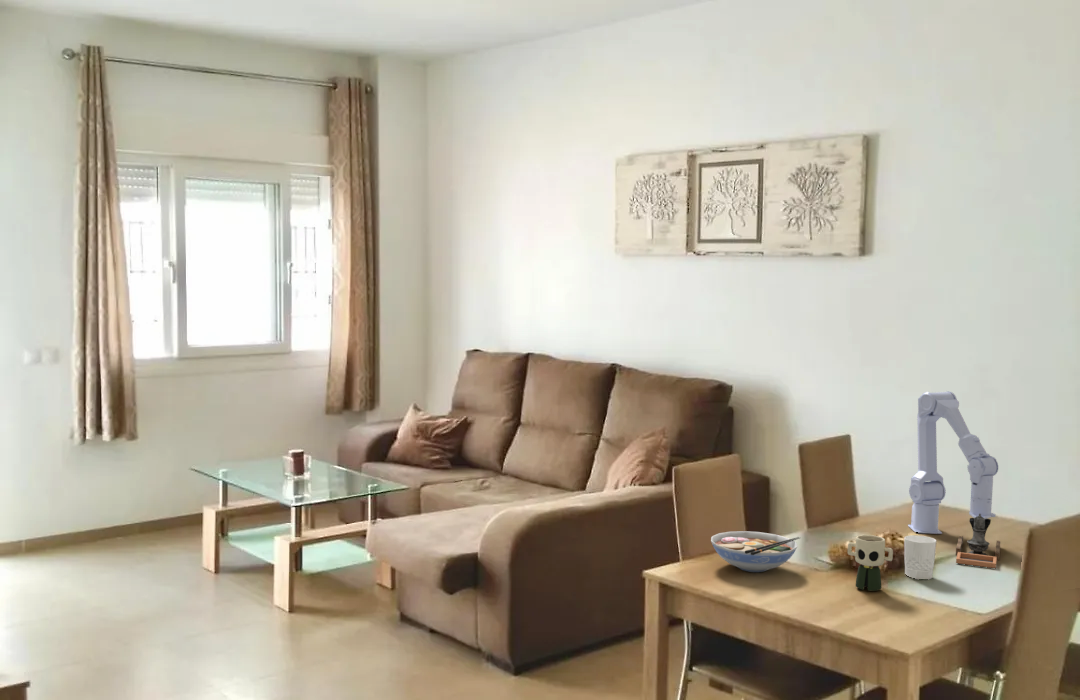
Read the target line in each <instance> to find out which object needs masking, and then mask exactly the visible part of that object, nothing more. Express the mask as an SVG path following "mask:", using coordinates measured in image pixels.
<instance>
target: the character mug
mask: <svg viewBox="0 0 1080 700" xmlns="http://www.w3.org/2000/svg"><path fill="white" fill-rule="evenodd" d="M853 547H854V548H855V550H854V551H852V550H853V549H852V548H853ZM886 552H888V556H885V554H886ZM847 555H849V556H854V559H855V562H856V563H858V564H859V566H858V568H857V573H856V579H855V587H856V588H857V589H859V590H865V588H867V591H871V592H872V591H873V592H875V591H880V590H881V589H882V575H881V568H880V566H882V565H884V563H885V561H887V562H892V561H893V555H894V550H893V548H891V547H886V539H885V538H884V537H882V536H877V535H872V534H861V535H857V536H856V537H855V542H848V543H847Z"/></svg>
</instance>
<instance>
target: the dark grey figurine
mask: <svg viewBox="0 0 1080 700" xmlns="http://www.w3.org/2000/svg"><path fill="white" fill-rule="evenodd" d="M973 518H974V517H973ZM971 529H972V538H971V539H968V540H967V541H966V542H967V543H968V548H969V549H970V551H969V552H967V553H971V554H979V555H987V556H989V555H988V553H986V551H987V550H988V548H989V545H990V543H989V542H988V541H986V534H985V531H986V529H985V519H984V518H983V517H982V516H981V514H979V516H977V517H975V518H974V528H972V527H971ZM986 532H987V531H986ZM984 535H985V537H984Z"/></svg>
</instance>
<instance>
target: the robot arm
mask: <svg viewBox="0 0 1080 700" xmlns="http://www.w3.org/2000/svg"><path fill="white" fill-rule="evenodd" d="M959 407H960V401H959V400H958V398H957V396H956V394H955V393H953V392H952V391H937V392H936V391H935V392H933V391H932V392H930V391H925V392H923V393H922V394H921V395H920V396H919V397H918V398H917V408H918V409H917V419H916V420H917V472H916V473H915V474H914V475H913V476H912V477H911V478H910V485H909V488H908V494H909V497H910V498H911V500H912V502H913V504H912V506H911V516H910V517H911V520H910V521H911V524H907V526H908V528H910V529H911V530H912V531H913V532H914V533H915V532H918V533H917V534H935V535H942V534H943V532H942V531H941V530H940V529H939V516H940V515H939V512H940V504H942V500H944V499H945V497H946V487H945V485H944V478H943V476H942V475H940V474H939V472H938V461H937V460H938V459H937V455H938V454H937V453H938V452H937V421H939V420H940V419H941V418H943V419H945V420H946V421H947V422H948V424H949V426H950V427H951V429H952V430H953V432H954V433H955V434H956V436H957V437H958V442H957V444H958V446H959V448H960V450H961V452H962V454H963V456H964V457H965V459H966V461H967V463H968V464H967V472H968V473H969V480H970V482H971V487H970V488H971V490H970V502H969V503H970V504H969V505H970V506H969V511H968V514H969V516H971V517H970V518H969V524H970V525H971V529H972V528H974V518H975V517H977V516H979V514H981V516H982V517H983V518H984V519H985V529H986V531H985V535H984V537H985V538H986V533H987V531H988V528H989V527H990V525H991V521H992V520H991V519H990V518H996V513H994V512H992V508H993V507H992V506H993V505H992V504H993V485H994V476H996V475H997V473H998V471H999V463H998V461H997V459H996V457H994V456H991V454H990V453H987V452H986V450H985V447H984V446H983V444H982V442H981V439H980V437H979V436H977V435H975V434H972V433H971V432H970V430H969V427H968V426H967V424H966V422H965V420H964V418H963V416H962V413H961V411H960V409H959Z"/></svg>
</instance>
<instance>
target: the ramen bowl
mask: <svg viewBox="0 0 1080 700" xmlns="http://www.w3.org/2000/svg"><path fill="white" fill-rule="evenodd" d="M796 540H800V537H799V536H797V537H793V538H789V537H786V536H783V535H778V534H775V533H767V532H763V531H762V532H760V531H747V530H746V531H745V530H743V531H737V530H736V531H726V532H719V533H716V534H714V535H712V536H711V537H710V543H711V545H712V547H713V549H714V550H715V552H716V553H717V554H718V555H719V557H720V558H721V559H723V560H724V561H725V562H727V564H730V565H731V566H734V567H735V568H736V567H737V568H738V569H740V570H742V571H744V572H749V573H763V572H766V571H768V570H772V569H777V568H779V567H780V566H781V565H784V564H785V563H787V562H788V560H790V559H791V557H792V556H793V555H794V554H795V552H796V550H797V548H798V542H796Z"/></svg>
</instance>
